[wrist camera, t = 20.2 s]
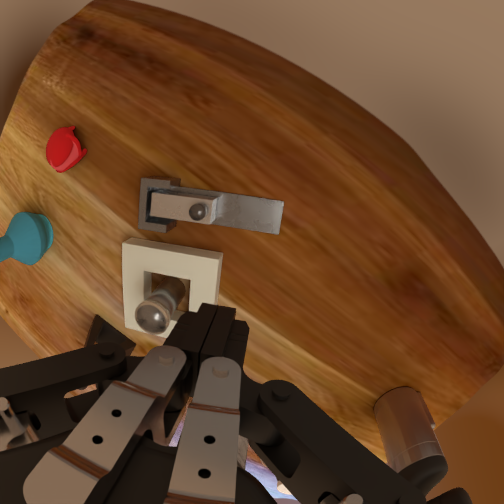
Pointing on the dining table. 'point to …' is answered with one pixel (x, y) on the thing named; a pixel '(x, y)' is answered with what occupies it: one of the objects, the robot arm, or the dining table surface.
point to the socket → (167, 263)
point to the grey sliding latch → (227, 212)
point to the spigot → (160, 306)
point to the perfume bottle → (26, 238)
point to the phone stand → (107, 336)
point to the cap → (64, 149)
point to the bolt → (184, 206)
